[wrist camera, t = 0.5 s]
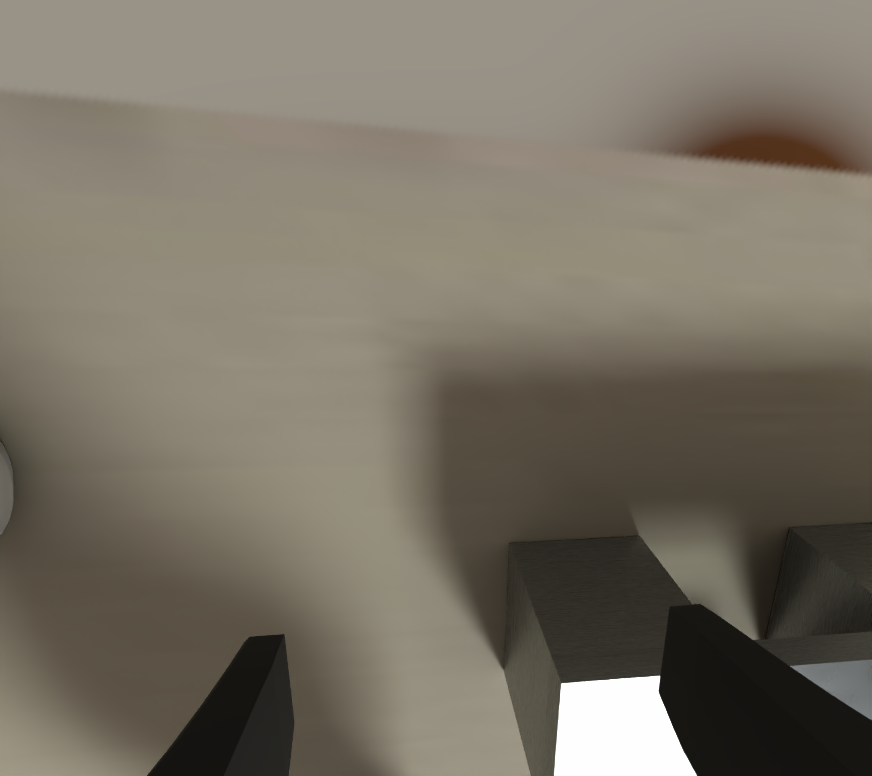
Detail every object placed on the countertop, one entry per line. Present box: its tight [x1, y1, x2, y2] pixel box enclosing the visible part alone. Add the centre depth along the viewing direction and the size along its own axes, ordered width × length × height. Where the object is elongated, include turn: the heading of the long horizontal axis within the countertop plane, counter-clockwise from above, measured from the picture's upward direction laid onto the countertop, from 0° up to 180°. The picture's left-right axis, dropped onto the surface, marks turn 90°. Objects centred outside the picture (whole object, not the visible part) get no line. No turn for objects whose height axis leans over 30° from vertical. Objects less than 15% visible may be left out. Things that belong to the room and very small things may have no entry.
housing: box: [504, 523, 872, 776], centre depth 20 cm, size 6×17×6 cm, turn 90°
